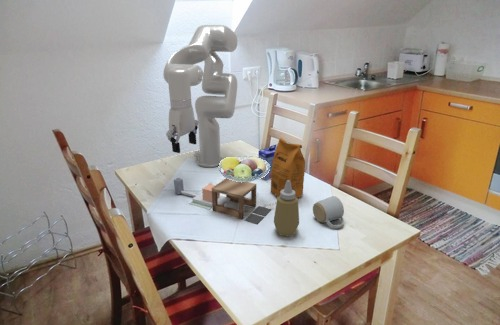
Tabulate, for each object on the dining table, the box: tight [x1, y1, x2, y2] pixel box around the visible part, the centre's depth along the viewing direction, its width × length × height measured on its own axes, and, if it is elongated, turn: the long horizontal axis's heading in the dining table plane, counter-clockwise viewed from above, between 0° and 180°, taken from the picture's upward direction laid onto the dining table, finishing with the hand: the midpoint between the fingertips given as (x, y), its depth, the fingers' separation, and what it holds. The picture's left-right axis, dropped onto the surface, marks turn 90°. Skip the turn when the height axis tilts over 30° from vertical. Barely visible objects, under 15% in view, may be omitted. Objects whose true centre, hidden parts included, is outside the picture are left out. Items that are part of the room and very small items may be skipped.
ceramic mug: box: [312, 195, 345, 230], centre depth 118 cm, size 11×8×8 cm
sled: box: [173, 177, 231, 208], centre depth 132 cm, size 22×7×6 cm, turn 62°
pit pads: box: [243, 205, 272, 225], centre depth 123 cm, size 5×11×1 cm, turn 152°
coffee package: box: [270, 137, 306, 199], centre depth 133 cm, size 10×12×22 cm
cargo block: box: [201, 183, 221, 202], centre depth 130 cm, size 4×4×4 cm
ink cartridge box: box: [258, 143, 278, 181], centre depth 151 cm, size 10×6×14 cm, turn 130°
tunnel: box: [212, 177, 257, 220], centre depth 125 cm, size 12×10×9 cm
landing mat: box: [188, 200, 213, 210], centre depth 132 cm, size 9×10×1 cm
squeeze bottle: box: [273, 180, 300, 237], centre depth 110 cm, size 8×8×18 cm
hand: (184, 147), depth 134 cm, fingers open, 9 cm apart
